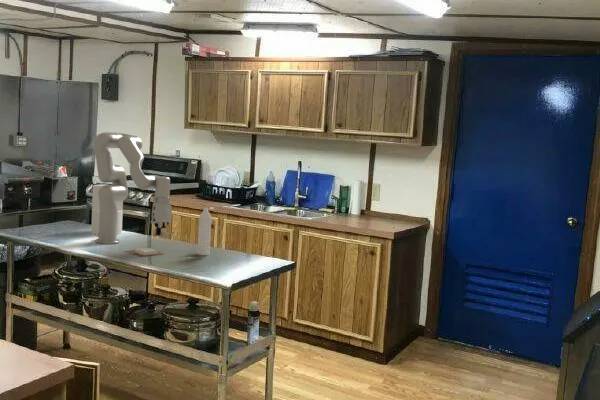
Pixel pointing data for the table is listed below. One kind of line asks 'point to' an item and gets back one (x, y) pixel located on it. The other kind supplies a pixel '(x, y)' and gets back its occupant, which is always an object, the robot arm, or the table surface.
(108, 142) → the robot arm
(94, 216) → the cylinder
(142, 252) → the tile
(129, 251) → the board
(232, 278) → the table surface
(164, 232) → the turner
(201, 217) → the water bottle
